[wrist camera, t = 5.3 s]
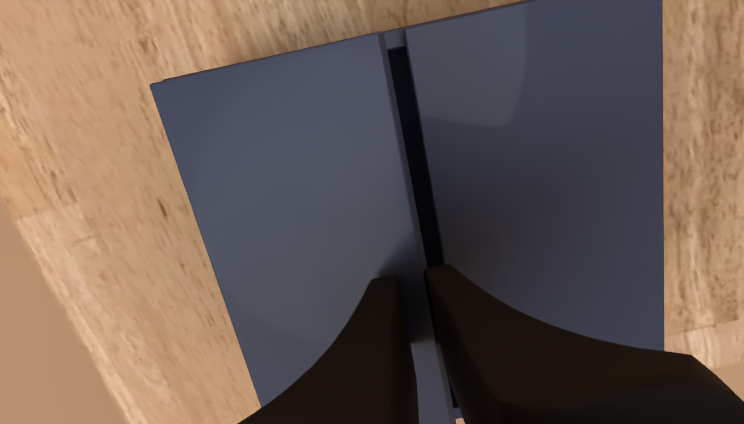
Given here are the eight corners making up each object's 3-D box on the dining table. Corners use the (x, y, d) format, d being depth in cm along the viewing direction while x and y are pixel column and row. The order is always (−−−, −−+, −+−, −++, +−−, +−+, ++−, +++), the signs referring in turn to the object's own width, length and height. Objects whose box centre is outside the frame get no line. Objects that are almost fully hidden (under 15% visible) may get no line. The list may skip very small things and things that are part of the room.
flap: (469, 493, 14) (466, 505, 14) (287, 458, 17) (281, 468, 16) (384, 30, 10) (377, 31, 9) (160, 82, 12) (148, 84, 12)
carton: (574, 292, 23) (667, 400, 16) (306, 343, 23) (282, 468, 16) (552, -2, 18) (666, -31, 12) (225, 69, 19) (147, 82, 12)
